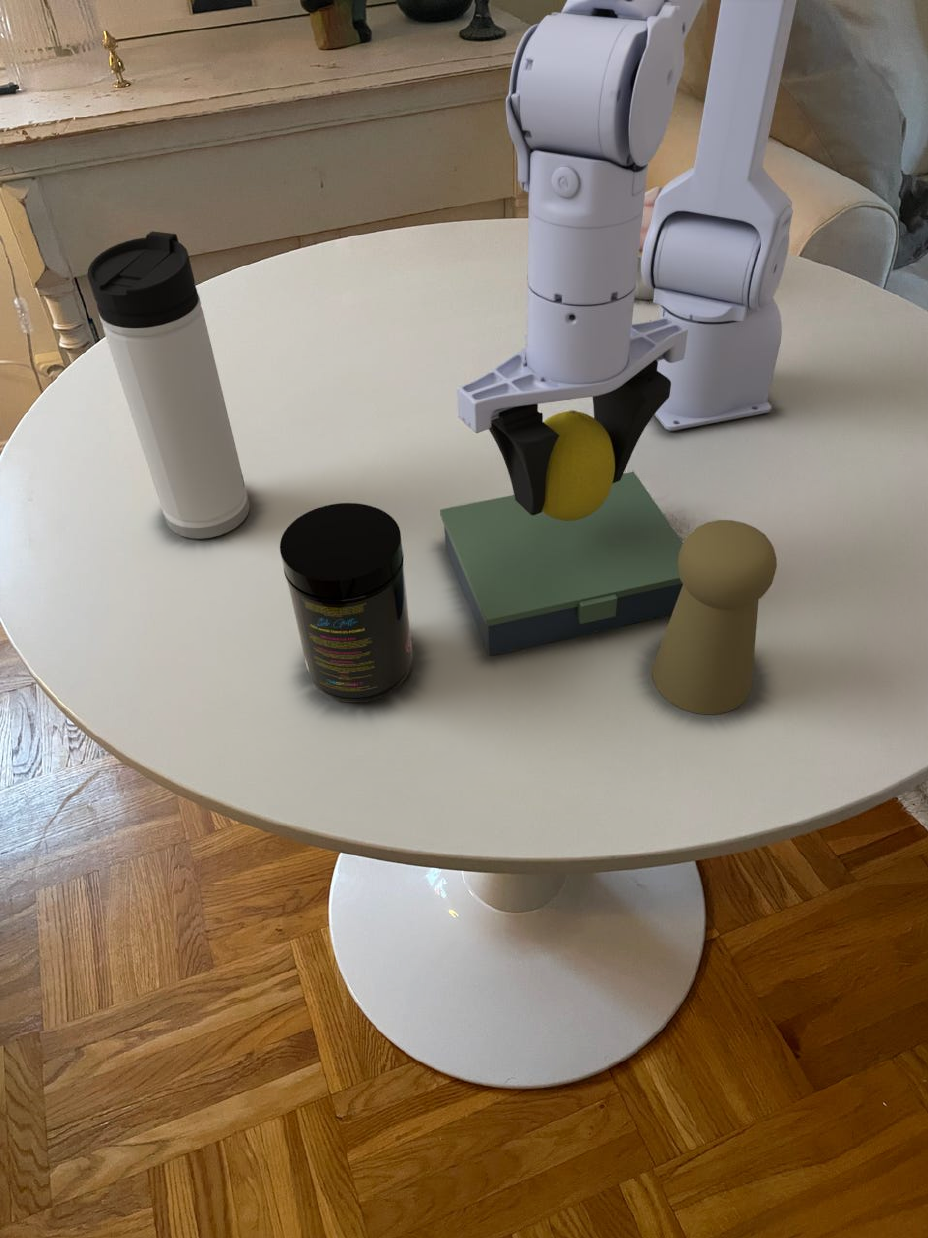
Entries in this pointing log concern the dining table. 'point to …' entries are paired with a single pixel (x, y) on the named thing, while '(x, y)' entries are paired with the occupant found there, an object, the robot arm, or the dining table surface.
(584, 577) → the lunchbox
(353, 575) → the supplement container
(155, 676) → the dining table surface
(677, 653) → the brown pawn
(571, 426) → the lemon
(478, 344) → the dining table surface
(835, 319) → the dining table surface
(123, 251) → the travel mug
